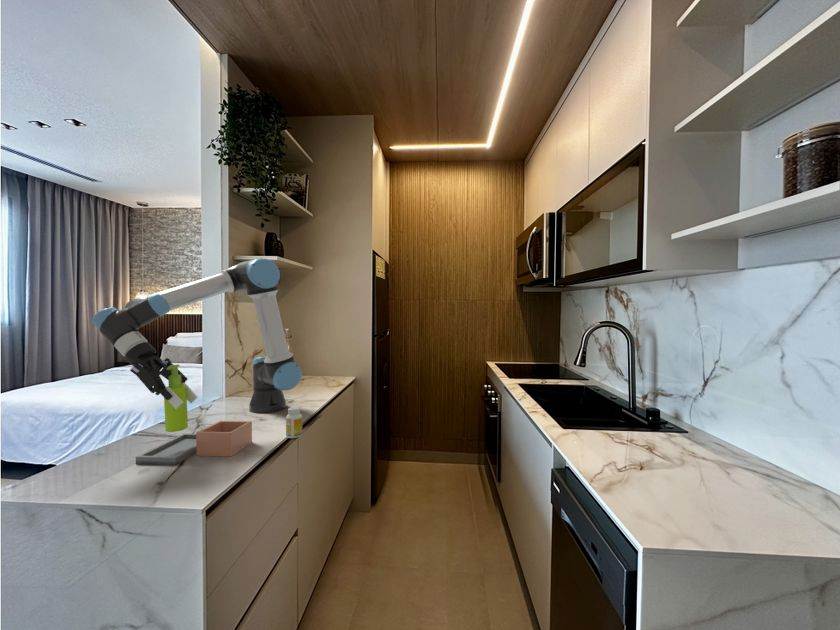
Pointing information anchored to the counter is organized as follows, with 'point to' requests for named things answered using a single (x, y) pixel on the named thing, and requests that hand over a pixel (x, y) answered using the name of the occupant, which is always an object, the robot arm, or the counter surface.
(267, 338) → the robot arm
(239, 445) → the terracotta open box
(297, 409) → the supplement bottle
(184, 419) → the soap dispenser
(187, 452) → the grey tray
